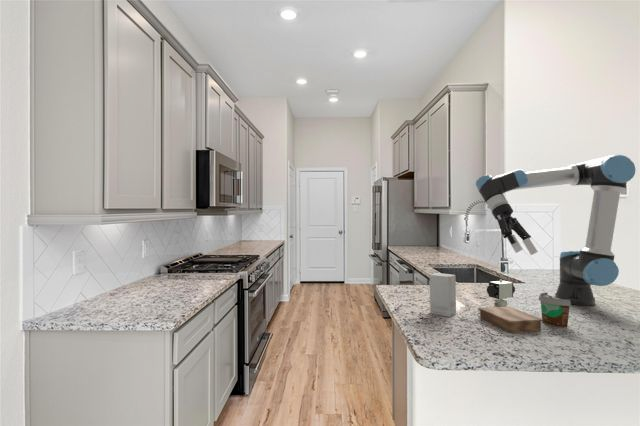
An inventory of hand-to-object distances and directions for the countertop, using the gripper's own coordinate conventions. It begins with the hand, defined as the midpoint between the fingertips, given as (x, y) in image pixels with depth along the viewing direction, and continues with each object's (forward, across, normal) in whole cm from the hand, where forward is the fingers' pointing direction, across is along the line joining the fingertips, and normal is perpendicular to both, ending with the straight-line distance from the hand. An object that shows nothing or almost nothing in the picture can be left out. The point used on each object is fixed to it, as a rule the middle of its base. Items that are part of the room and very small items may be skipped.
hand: (527, 252), depth 143 cm
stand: (+23, +14, -14) cm, 30 cm away
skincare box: (+11, +21, -33) cm, 41 cm away
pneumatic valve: (+14, -6, -24) cm, 28 cm away
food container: (+26, 0, -6) cm, 27 cm away
